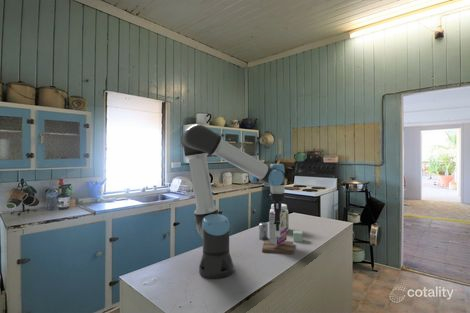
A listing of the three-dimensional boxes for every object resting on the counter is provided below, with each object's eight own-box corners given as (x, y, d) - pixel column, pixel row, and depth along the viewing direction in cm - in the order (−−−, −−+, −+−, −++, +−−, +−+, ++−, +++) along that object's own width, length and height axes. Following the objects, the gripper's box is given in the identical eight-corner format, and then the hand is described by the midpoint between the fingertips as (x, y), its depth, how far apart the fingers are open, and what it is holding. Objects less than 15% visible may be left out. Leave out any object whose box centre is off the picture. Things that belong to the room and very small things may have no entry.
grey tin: (267, 240, 150) (267, 225, 150) (258, 239, 151) (258, 224, 151) (267, 237, 155) (267, 222, 155) (259, 237, 156) (259, 222, 156)
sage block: (302, 242, 146) (302, 233, 146) (293, 241, 147) (293, 233, 147) (301, 239, 151) (301, 230, 151) (293, 238, 152) (293, 230, 152)
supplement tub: (280, 234, 160) (279, 207, 160) (266, 230, 170) (265, 204, 169) (292, 230, 168) (292, 205, 168) (278, 226, 177) (278, 202, 177)
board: (293, 254, 129) (293, 251, 129) (262, 252, 132) (262, 249, 132) (292, 244, 143) (292, 241, 143) (264, 242, 146) (264, 240, 146)
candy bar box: (278, 238, 143) (278, 208, 143) (286, 239, 140) (286, 210, 140) (268, 243, 134) (268, 212, 134) (277, 245, 131) (277, 214, 131)
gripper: (284, 196, 124) (285, 240, 125) (284, 189, 148) (284, 226, 148) (269, 196, 126) (269, 239, 126) (271, 189, 149) (271, 226, 150)
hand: (277, 232), depth 137 cm, fingers closed on candy bar box, 12 cm apart
